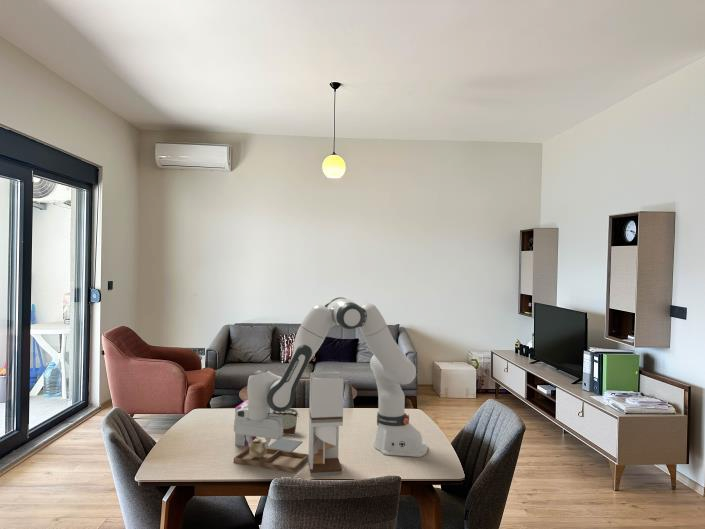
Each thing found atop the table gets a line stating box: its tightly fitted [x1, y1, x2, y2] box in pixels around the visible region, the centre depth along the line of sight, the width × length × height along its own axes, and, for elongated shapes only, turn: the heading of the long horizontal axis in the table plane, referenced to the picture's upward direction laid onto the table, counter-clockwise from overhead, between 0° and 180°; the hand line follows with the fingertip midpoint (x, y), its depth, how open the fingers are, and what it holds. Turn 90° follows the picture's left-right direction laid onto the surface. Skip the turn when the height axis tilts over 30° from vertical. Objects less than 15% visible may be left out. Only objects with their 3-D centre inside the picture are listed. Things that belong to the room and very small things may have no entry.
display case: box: [307, 371, 345, 477], centre depth 169 cm, size 11×11×35 cm
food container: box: [273, 407, 300, 435], centre depth 206 cm, size 12×6×10 cm, turn 84°
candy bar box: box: [234, 399, 256, 447], centre depth 194 cm, size 11×5×16 cm, turn 168°
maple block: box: [248, 438, 267, 458], centre depth 176 cm, size 5×5×5 cm
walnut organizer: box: [233, 446, 309, 474], centre depth 174 cm, size 26×13×2 cm, turn 72°
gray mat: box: [268, 437, 303, 452], centre depth 189 cm, size 11×11×1 cm
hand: (258, 447), depth 176 cm, fingers closed on maple block, 5 cm apart
